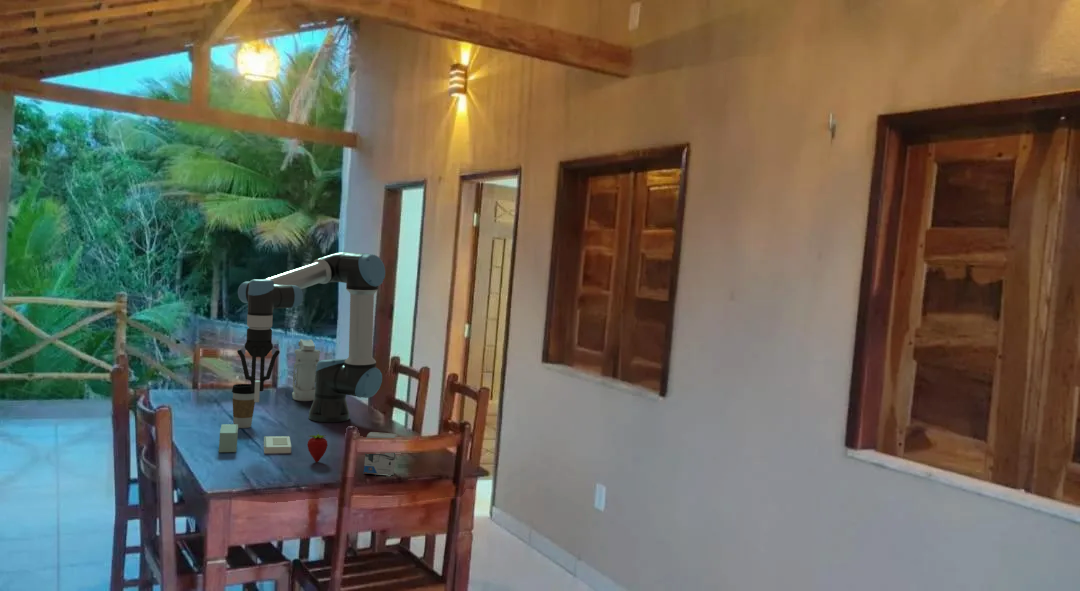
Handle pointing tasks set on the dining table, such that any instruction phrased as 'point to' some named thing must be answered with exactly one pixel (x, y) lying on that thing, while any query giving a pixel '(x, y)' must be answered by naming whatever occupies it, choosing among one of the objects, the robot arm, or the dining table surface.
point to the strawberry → (317, 446)
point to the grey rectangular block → (228, 438)
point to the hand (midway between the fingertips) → (256, 401)
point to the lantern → (305, 371)
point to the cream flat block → (277, 444)
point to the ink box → (380, 458)
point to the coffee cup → (243, 405)
